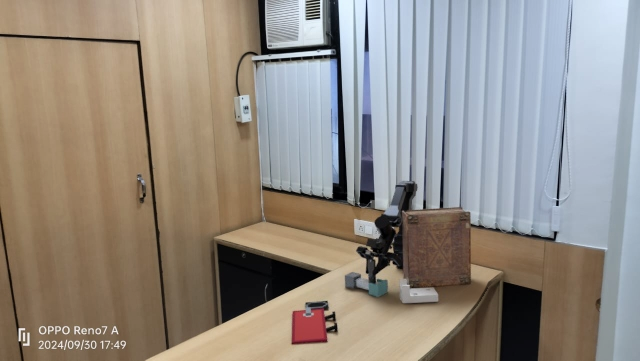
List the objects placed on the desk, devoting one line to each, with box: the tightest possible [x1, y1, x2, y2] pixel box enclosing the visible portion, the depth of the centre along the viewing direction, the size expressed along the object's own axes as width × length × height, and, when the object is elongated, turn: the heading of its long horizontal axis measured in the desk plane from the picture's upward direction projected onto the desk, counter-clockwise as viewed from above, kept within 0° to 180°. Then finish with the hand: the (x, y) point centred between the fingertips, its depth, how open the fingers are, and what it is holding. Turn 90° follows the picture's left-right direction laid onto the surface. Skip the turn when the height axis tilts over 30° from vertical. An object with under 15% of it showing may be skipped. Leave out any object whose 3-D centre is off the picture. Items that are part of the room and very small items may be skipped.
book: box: [402, 206, 472, 289], centre depth 191 cm, size 25×9×30 cm, turn 94°
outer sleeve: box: [344, 271, 362, 290], centre depth 193 cm, size 4×5×5 cm
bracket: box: [398, 278, 439, 304], centre depth 176 cm, size 13×7×8 cm, turn 91°
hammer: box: [355, 258, 380, 291], centre depth 188 cm, size 12×3×12 cm, turn 48°
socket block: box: [368, 278, 389, 298], centre depth 185 cm, size 4×6×5 cm
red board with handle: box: [291, 300, 339, 345], centre depth 163 cm, size 30×3×15 cm
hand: (369, 274), depth 185 cm, fingers closed on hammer, 3 cm apart
